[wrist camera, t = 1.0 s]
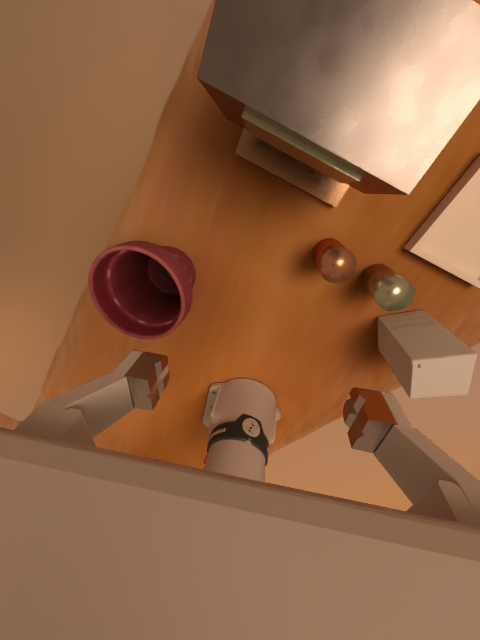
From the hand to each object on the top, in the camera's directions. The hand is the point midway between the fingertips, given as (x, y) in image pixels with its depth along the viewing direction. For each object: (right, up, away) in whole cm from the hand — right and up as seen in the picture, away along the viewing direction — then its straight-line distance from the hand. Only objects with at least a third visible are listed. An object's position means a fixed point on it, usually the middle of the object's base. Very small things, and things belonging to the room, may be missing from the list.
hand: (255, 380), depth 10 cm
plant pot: (-13, +12, +33) cm, 38 cm away
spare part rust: (+13, +14, +27) cm, 33 cm away
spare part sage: (+22, +10, +28) cm, 37 cm away
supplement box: (+28, +1, +32) cm, 43 cm away
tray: (+33, +16, +23) cm, 43 cm away
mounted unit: (+8, +27, +20) cm, 35 cm away
